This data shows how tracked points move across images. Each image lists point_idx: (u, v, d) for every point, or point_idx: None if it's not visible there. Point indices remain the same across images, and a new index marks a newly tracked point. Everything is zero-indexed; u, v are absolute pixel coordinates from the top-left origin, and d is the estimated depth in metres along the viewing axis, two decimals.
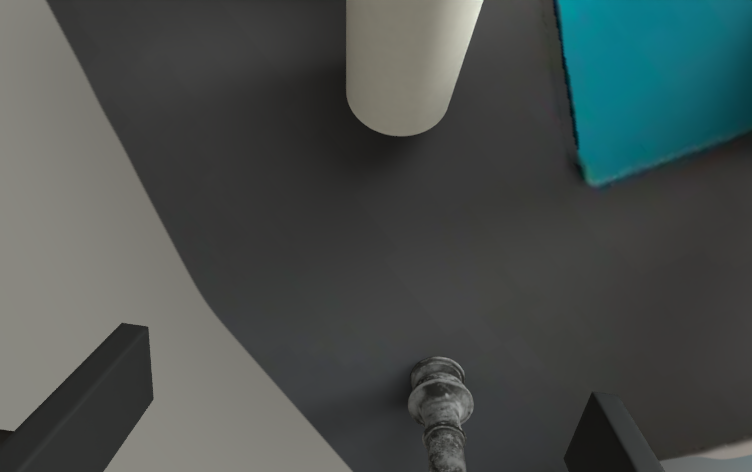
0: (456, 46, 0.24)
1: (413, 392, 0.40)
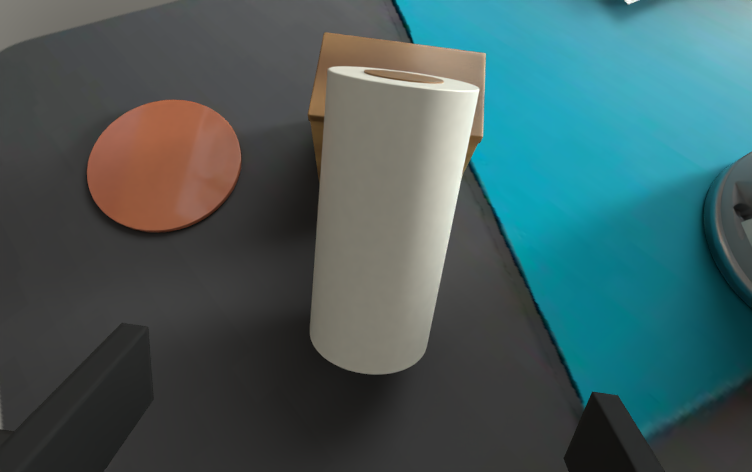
0: (434, 251, 0.22)
1: None
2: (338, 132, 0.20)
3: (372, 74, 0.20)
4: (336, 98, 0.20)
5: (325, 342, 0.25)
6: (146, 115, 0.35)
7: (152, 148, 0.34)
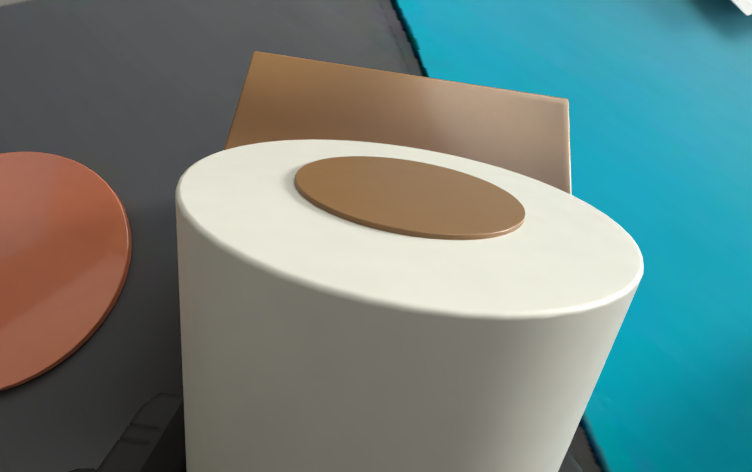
0: None
1: None
2: (196, 384, 0.06)
3: (311, 199, 0.06)
4: (184, 282, 0.06)
5: None
6: None
7: None
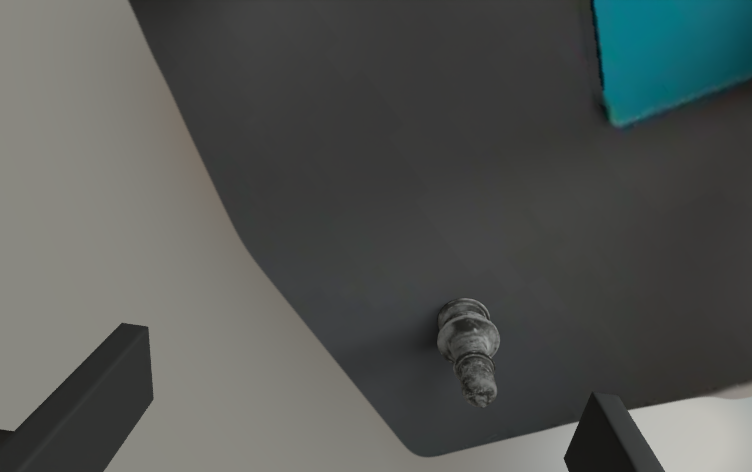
0: None
1: (442, 328, 0.42)
2: None
3: None
4: None
5: None
6: None
7: None
